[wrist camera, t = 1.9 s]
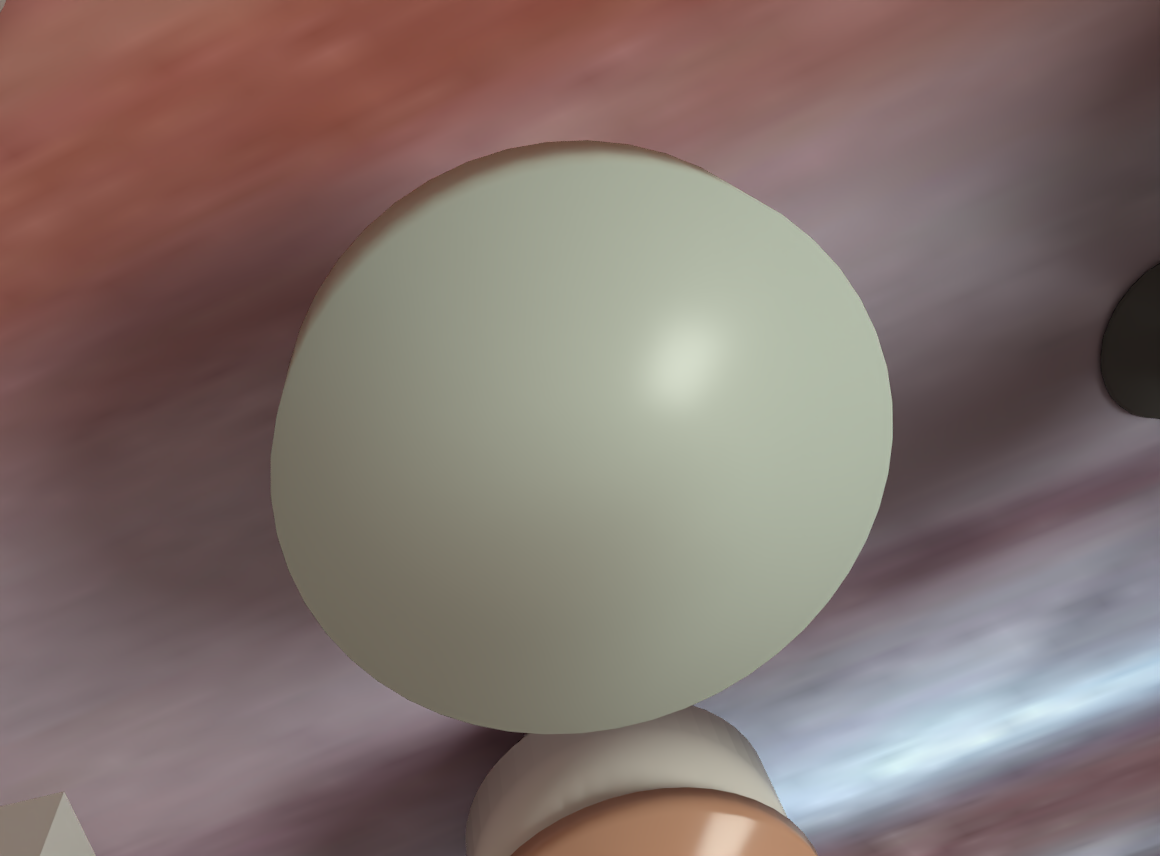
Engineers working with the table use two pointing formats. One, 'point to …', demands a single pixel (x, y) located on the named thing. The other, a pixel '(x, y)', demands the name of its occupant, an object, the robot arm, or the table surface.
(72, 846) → the robot arm
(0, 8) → the milk bottle
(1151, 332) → the sundae
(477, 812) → the bowl
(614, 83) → the table surface
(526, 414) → the lid
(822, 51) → the table surface
